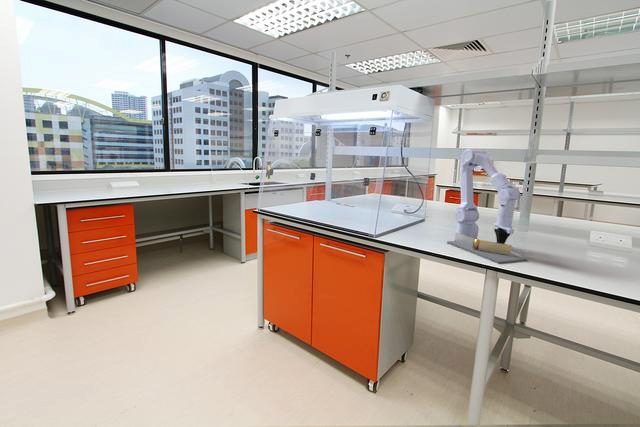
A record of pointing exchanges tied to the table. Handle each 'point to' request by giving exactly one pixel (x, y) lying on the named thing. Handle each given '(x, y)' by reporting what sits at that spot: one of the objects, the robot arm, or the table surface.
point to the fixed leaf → (464, 240)
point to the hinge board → (490, 254)
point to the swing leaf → (492, 246)
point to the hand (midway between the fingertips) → (500, 245)
